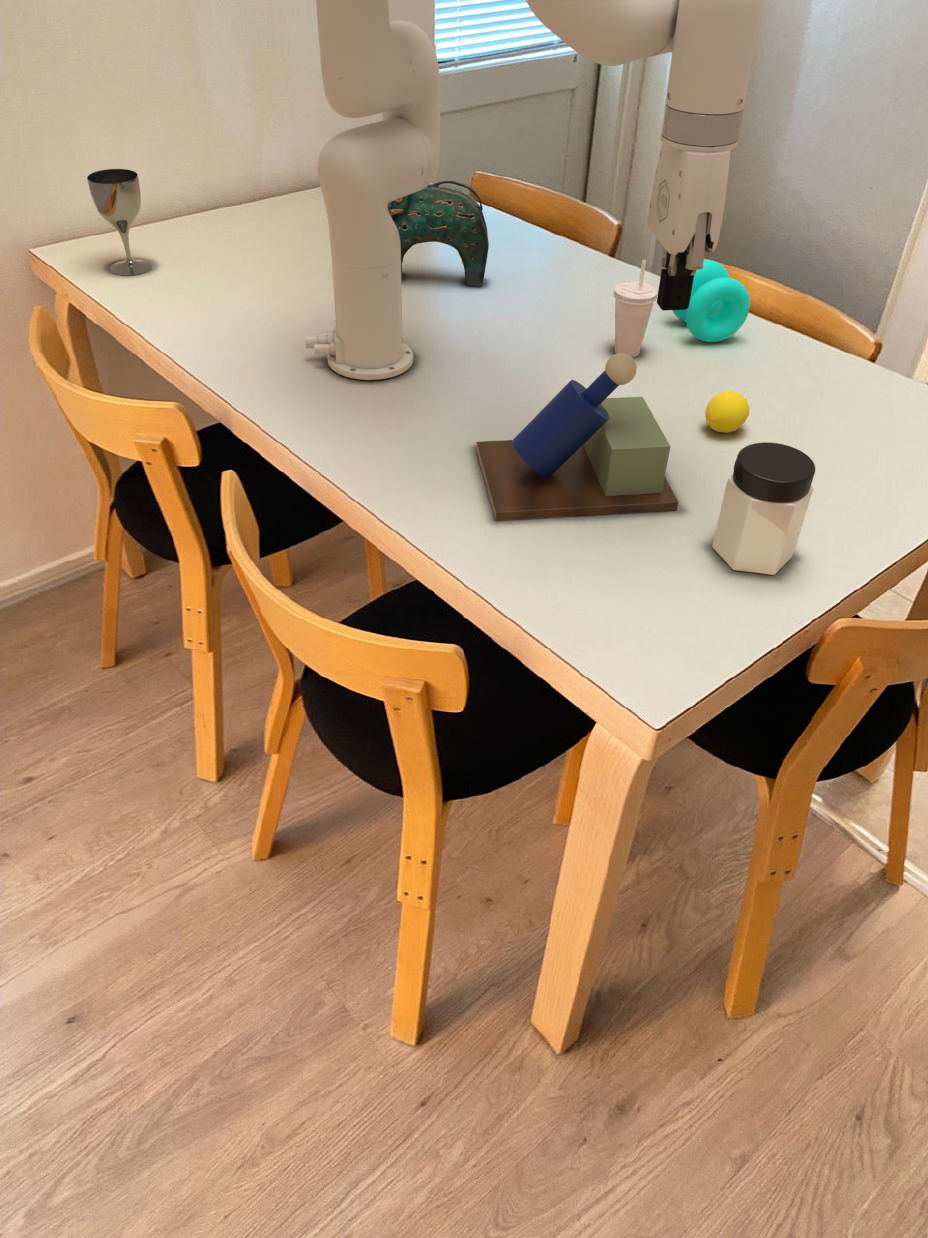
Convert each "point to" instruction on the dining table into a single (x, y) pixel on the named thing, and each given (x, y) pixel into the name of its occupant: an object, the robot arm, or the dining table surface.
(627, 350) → the smoothie
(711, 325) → the donuts
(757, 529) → the jar
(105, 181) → the wine glass
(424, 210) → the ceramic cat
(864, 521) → the dining table surface
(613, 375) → the bottle
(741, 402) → the lemon
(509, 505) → the board
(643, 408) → the block
